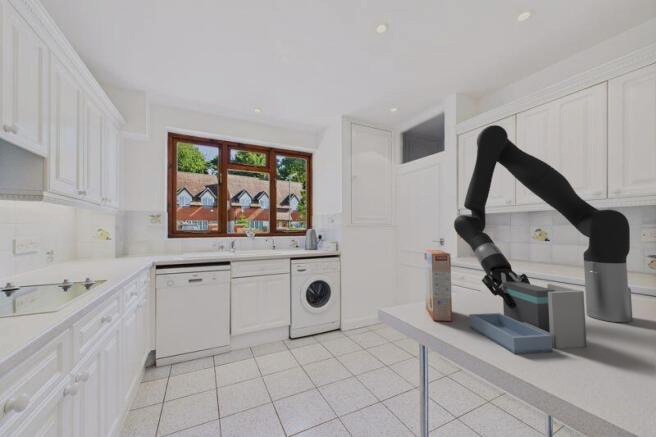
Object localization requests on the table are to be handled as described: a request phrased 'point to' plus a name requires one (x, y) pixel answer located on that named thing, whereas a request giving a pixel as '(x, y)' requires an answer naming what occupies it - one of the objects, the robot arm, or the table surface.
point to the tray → (511, 333)
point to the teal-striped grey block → (528, 304)
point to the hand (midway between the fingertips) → (522, 306)
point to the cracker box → (438, 285)
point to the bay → (566, 317)
